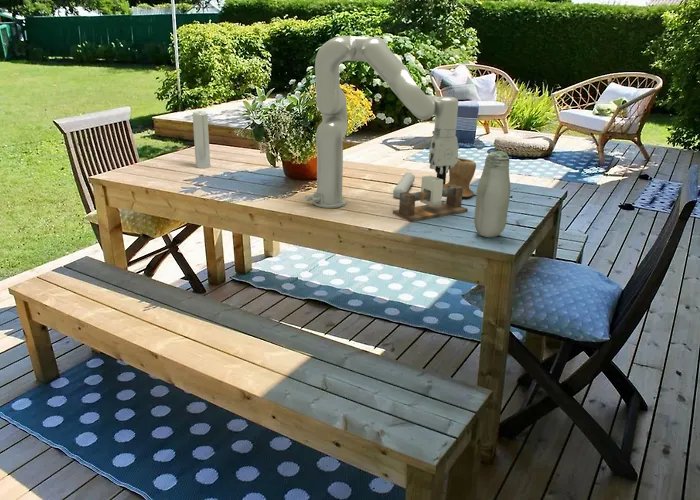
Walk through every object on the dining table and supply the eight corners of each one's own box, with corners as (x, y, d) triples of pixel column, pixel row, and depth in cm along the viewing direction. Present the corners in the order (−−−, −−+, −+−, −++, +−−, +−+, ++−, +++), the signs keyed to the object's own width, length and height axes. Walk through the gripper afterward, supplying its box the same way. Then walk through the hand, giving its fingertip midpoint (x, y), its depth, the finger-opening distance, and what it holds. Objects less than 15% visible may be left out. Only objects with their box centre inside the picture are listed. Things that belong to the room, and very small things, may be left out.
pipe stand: (411, 222, 212) (412, 198, 209) (392, 213, 221) (393, 190, 218) (467, 211, 225) (469, 189, 222) (447, 204, 234) (449, 182, 231)
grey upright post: (208, 168, 278) (205, 112, 269) (194, 168, 278) (190, 112, 269) (211, 165, 284) (208, 110, 275) (197, 164, 284) (194, 110, 275)
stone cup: (478, 194, 248) (482, 158, 242) (466, 201, 239) (469, 163, 233) (444, 188, 256) (447, 152, 250) (431, 194, 247) (434, 157, 241)
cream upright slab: (432, 206, 218) (434, 180, 214) (420, 201, 223) (422, 176, 220) (441, 205, 220) (443, 179, 216) (428, 200, 225) (430, 175, 222)
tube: (407, 190, 237) (416, 175, 259) (394, 185, 237) (405, 170, 260) (401, 202, 239) (412, 186, 261) (389, 197, 239) (400, 181, 262)
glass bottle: (494, 243, 194) (505, 156, 184) (467, 235, 200) (475, 151, 190) (509, 236, 201) (520, 151, 191) (482, 228, 207) (491, 147, 197)
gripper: (435, 136, 208) (431, 188, 214) (468, 133, 215) (463, 183, 222) (421, 132, 214) (418, 183, 220) (453, 129, 221) (449, 179, 228)
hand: (440, 183), depth 221 cm, fingers closed
